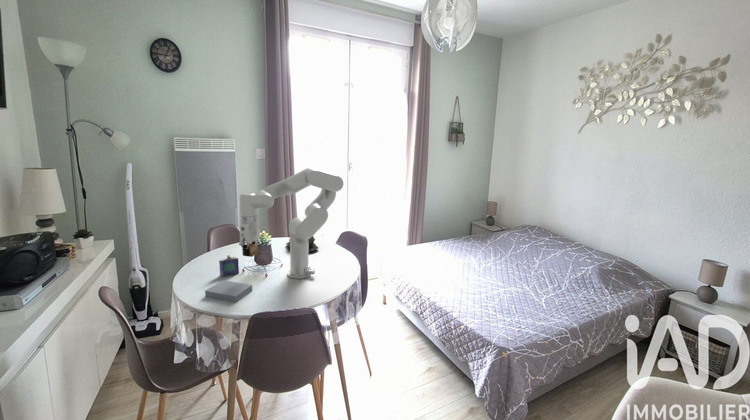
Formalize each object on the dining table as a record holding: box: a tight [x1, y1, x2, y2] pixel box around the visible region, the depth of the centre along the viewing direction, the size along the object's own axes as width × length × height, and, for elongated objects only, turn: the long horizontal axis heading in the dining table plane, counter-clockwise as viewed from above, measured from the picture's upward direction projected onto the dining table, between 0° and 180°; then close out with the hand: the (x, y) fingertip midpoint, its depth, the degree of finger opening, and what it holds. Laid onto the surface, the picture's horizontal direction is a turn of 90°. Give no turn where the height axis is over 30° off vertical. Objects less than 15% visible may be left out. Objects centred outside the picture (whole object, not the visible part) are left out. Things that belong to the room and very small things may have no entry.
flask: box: [218, 254, 240, 278], centre depth 170 cm, size 9×3×11 cm, turn 121°
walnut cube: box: [241, 243, 259, 258], centre depth 160 cm, size 5×5×5 cm
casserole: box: [285, 235, 319, 253], centre depth 216 cm, size 25×19×8 cm
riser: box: [204, 279, 253, 303], centre depth 150 cm, size 16×12×3 cm
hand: (250, 253), depth 160 cm, fingers closed on walnut cube, 5 cm apart
